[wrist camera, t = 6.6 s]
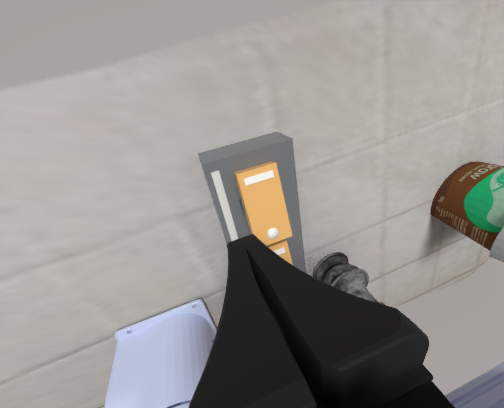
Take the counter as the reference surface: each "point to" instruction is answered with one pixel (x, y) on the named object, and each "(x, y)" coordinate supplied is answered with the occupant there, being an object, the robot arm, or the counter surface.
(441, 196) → the food container
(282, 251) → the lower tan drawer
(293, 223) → the rocker switch panel
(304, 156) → the counter surface
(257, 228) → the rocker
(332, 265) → the salt shaker
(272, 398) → the robot arm
